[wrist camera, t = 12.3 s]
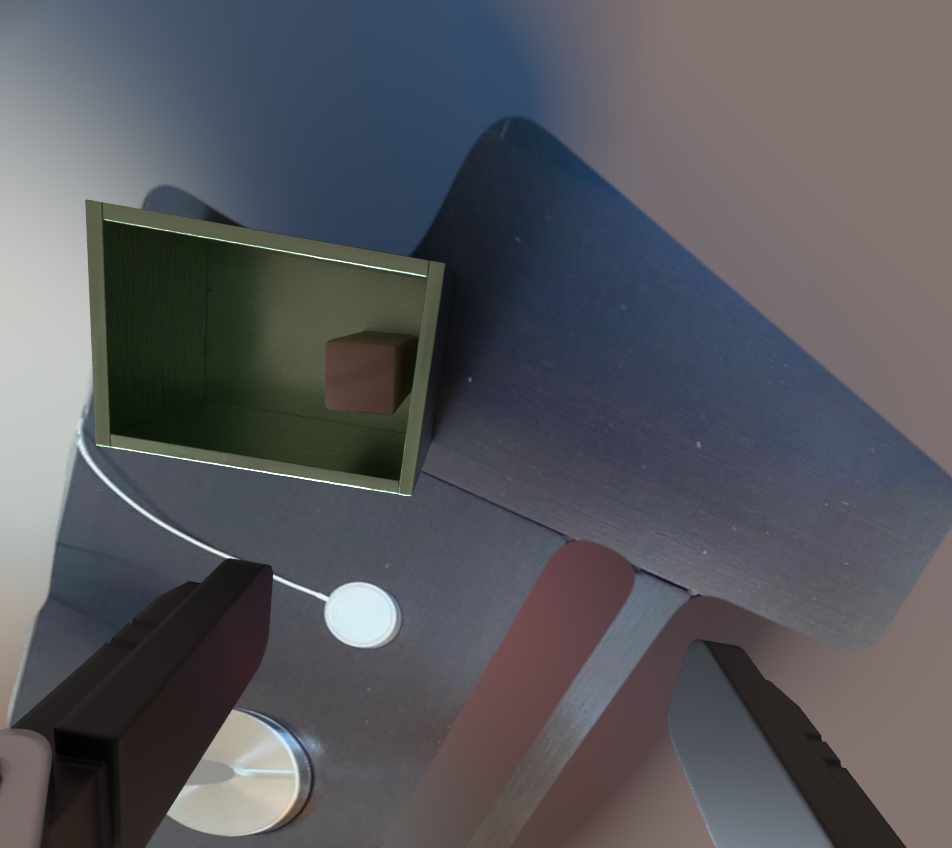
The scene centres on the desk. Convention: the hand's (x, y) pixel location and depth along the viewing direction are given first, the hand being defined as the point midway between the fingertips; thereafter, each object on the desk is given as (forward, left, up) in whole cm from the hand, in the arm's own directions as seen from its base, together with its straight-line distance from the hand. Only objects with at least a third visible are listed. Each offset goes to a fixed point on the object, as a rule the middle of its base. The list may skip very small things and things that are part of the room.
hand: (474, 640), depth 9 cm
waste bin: (+8, -9, -26) cm, 29 cm away
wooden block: (+4, -5, -26) cm, 27 cm away
